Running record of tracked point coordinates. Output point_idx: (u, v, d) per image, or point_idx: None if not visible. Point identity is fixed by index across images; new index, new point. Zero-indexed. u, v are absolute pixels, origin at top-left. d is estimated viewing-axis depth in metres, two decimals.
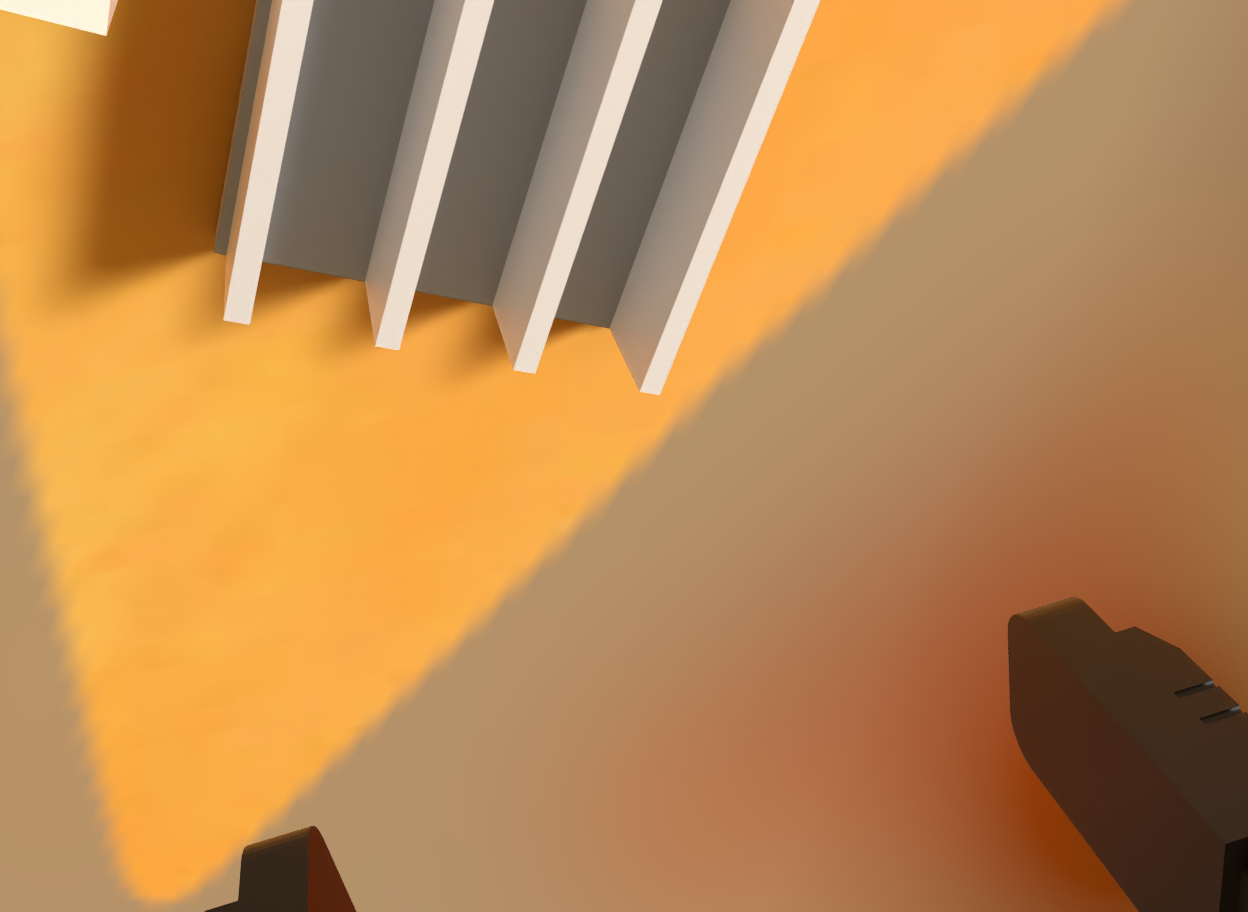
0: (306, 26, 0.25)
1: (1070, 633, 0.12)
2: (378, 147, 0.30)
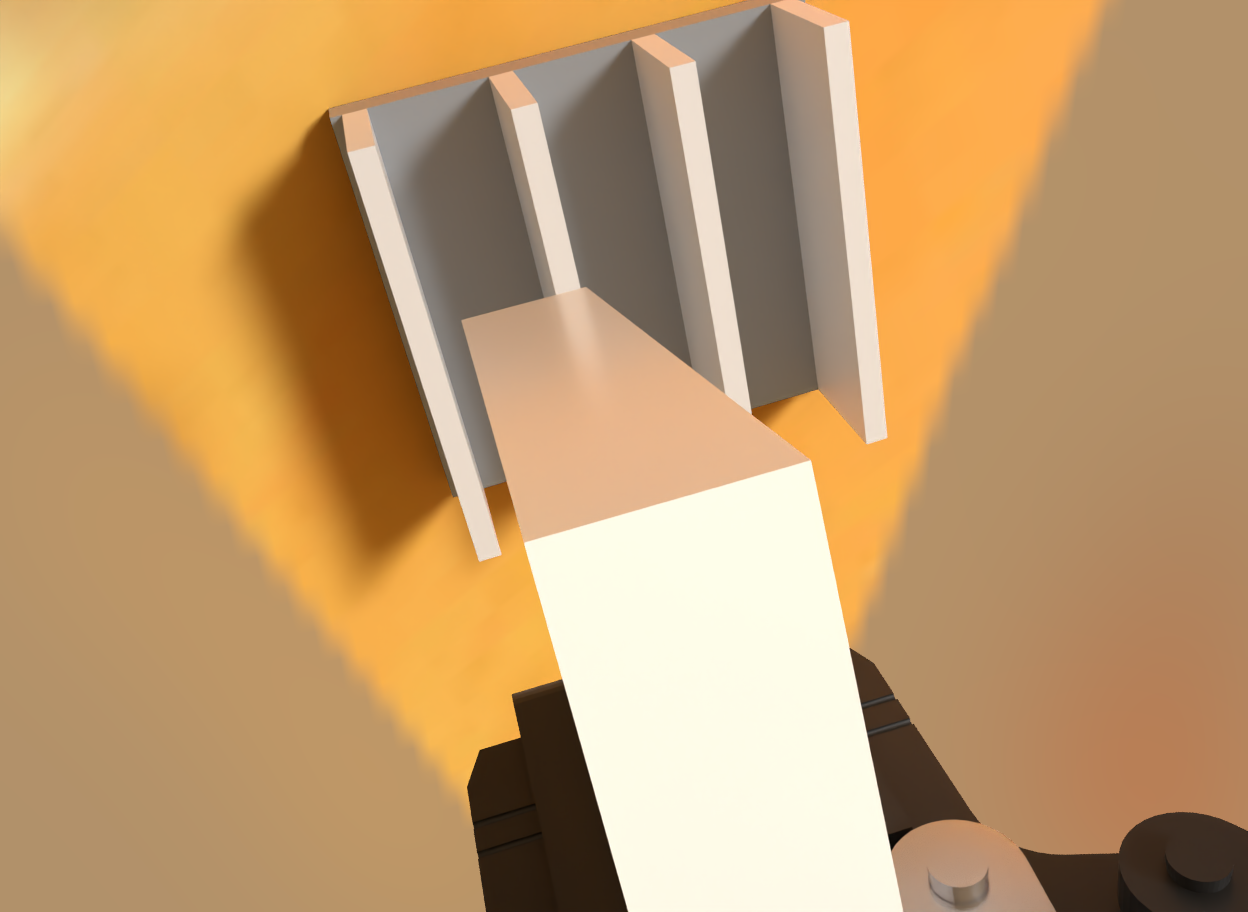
0: (423, 307, 0.27)
1: None
2: None
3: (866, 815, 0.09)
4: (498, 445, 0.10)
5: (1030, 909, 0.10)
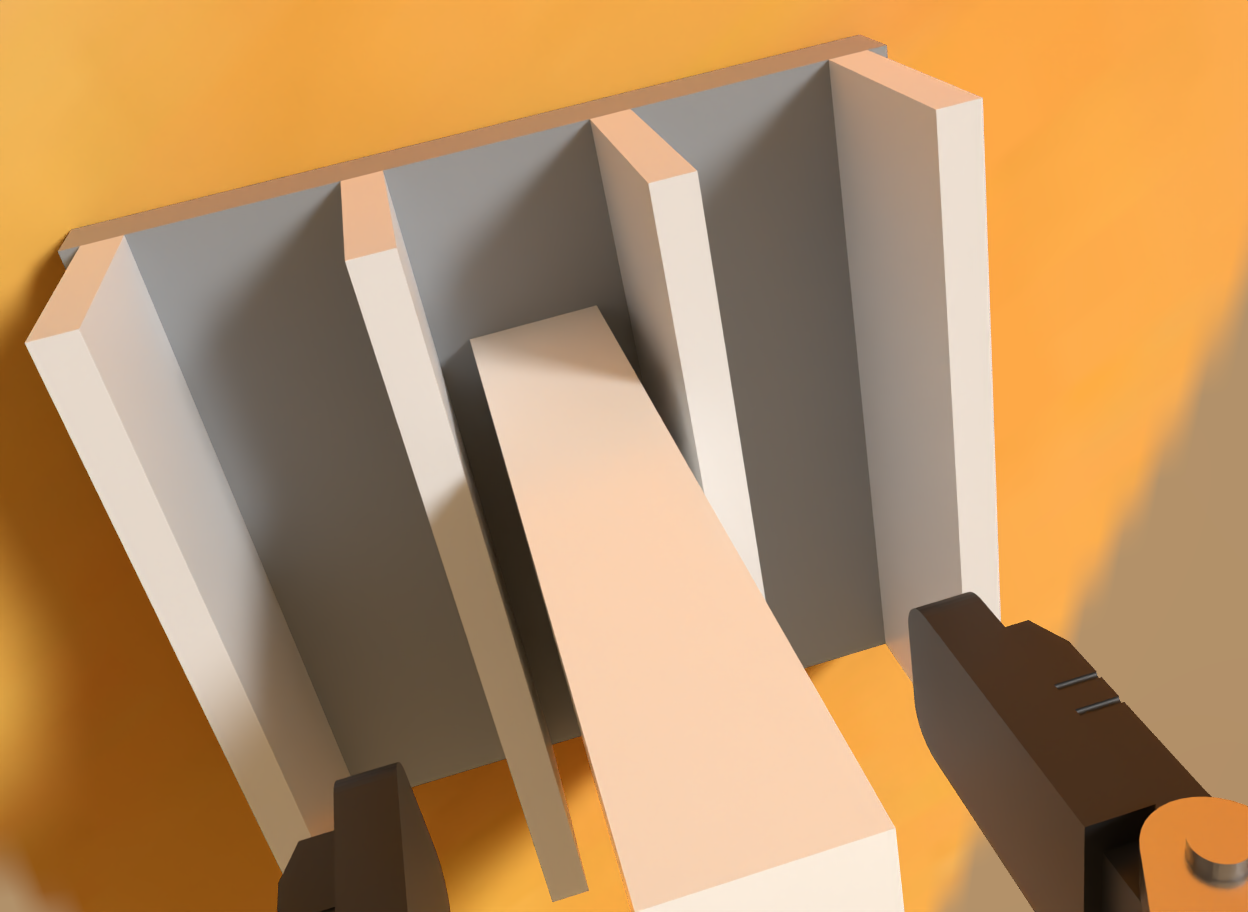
0: (200, 600, 0.15)
1: (961, 626, 0.13)
2: (443, 601, 0.20)
3: None
4: (569, 677, 0.11)
5: None
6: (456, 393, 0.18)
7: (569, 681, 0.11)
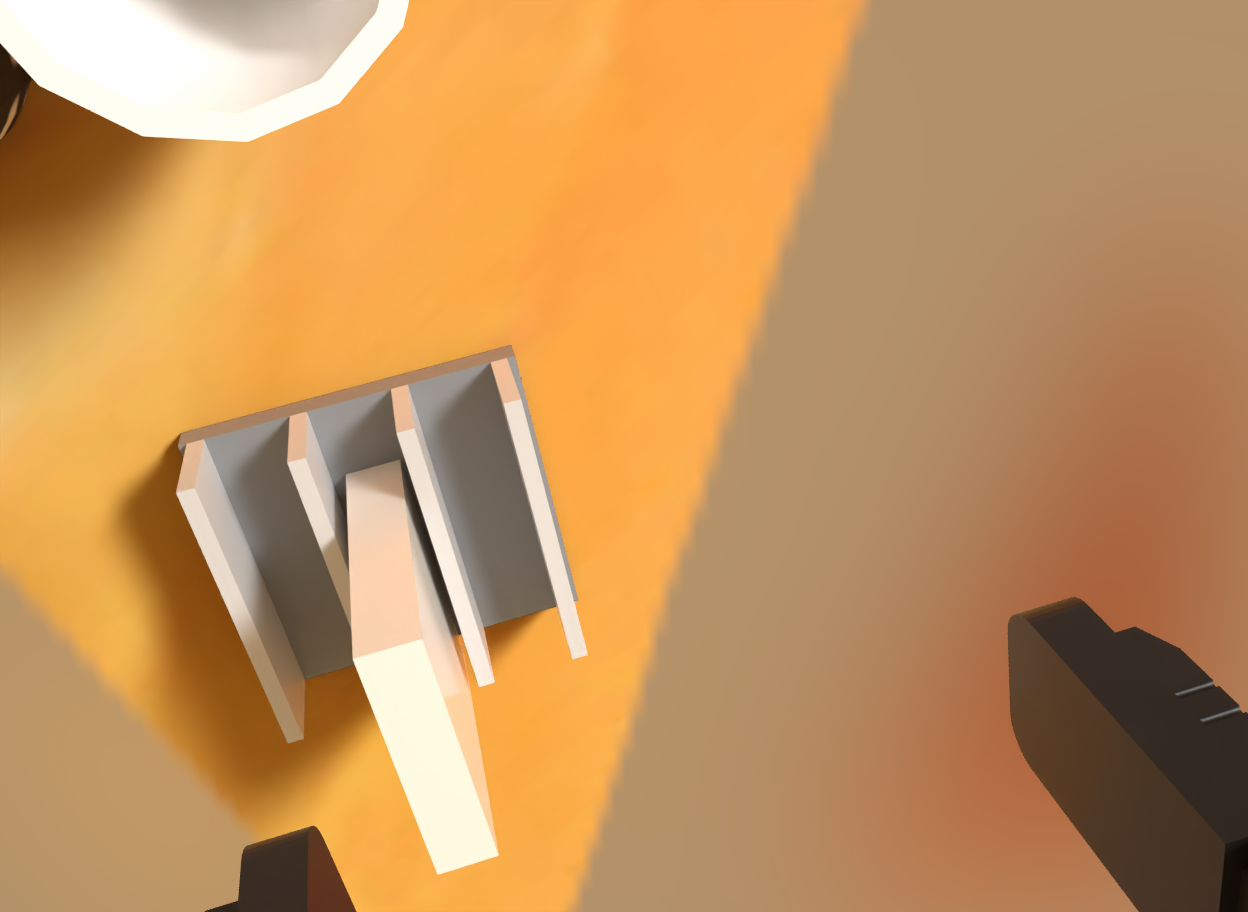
0: (234, 582, 0.40)
1: (1070, 633, 0.13)
2: None
3: (443, 712, 0.35)
4: (351, 604, 0.36)
5: None
6: (341, 496, 0.43)
7: None
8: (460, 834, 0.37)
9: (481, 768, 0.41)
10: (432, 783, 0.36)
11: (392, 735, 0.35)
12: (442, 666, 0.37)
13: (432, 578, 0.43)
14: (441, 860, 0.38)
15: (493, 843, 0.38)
